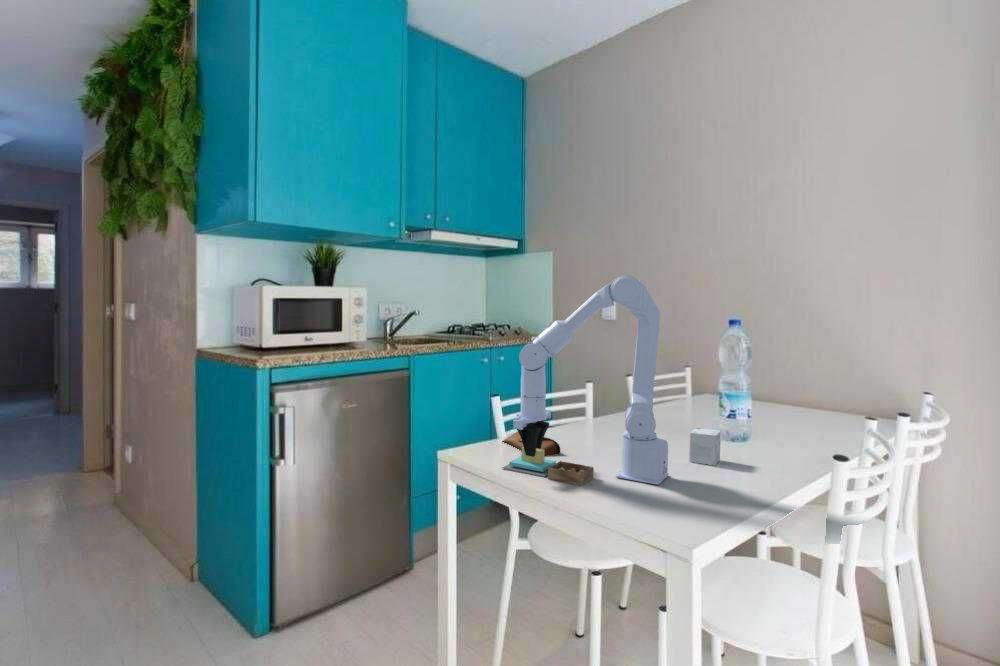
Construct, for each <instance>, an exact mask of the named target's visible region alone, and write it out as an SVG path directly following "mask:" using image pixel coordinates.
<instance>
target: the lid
mask: <svg viewBox="0 0 1000 666" xmlns="http://www.w3.org/2000/svg"><path fill="white" fill-rule="evenodd" d="M544 453H545V449H539V448H536V453H535V456H534V457H532V456H526V455H525V451H524V447H522V451H521V455H520V456H519V457H517V458H515V459H512V460H510V461H509V462H508V464H509V465H510V466H515V467H520V468H525V469H530V470H535V471H540V472H544V471H546V470H547V469H548V468H549V467H551V466H552V465H554V464H556V463H557V461H556V460H553V459H552V460H551V459H548V458H545V456H544Z"/></svg>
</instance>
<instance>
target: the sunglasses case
mask: <svg viewBox="0 0 1000 666" xmlns="http://www.w3.org/2000/svg"><path fill="white" fill-rule="evenodd" d="M501 441H502V442H501V443H503V442H504V443H503V444H505V443H507V444H506V445H508V444H509V445H508V446H510V445H511V446H510V447H512V446H513V448H514V447H515V448H514V449H516V448H517V450H518V449H519V450H518V451H520V450H521V451H520V452H522V447H524V446H523V442H522V439H521V437H520V434H519V433H518V431H516V432H515V433H513V434H511V435H510V436H508V437H506V438H505V439H503V440H501ZM541 449H545V453H544V457H547V455H549V456H554V455H555V454H556V455H560V453H561V447H560V444H559V443H558V441H555V439H552V438H549V437H546V436H544V438H543V442H542V446H541Z"/></svg>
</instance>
